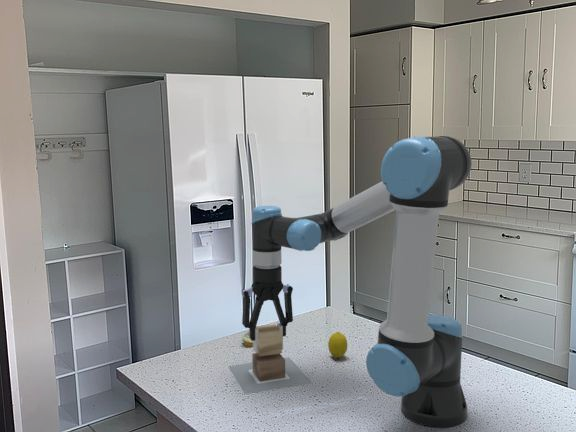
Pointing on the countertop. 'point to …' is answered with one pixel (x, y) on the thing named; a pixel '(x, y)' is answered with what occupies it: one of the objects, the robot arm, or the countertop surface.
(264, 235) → the robot arm
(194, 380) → the countertop surface
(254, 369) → the walnut base
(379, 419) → the countertop surface
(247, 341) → the decorated donut
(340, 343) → the lemon
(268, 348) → the oak cube
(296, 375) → the grey square plate
